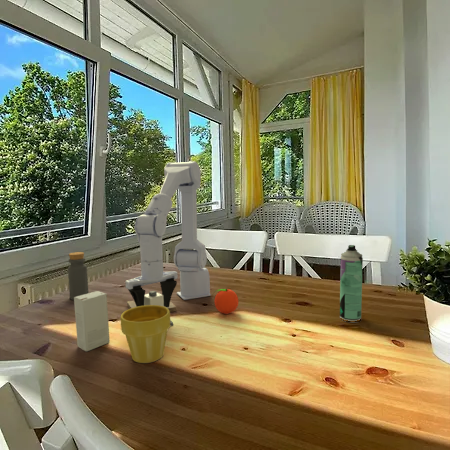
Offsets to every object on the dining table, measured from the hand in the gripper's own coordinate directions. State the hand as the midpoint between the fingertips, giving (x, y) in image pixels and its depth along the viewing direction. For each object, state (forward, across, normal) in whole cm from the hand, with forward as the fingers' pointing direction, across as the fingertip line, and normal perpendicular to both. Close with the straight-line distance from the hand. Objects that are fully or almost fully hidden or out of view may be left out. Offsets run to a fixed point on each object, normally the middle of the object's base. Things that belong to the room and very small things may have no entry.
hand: (153, 309), depth 95 cm
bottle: (+4, +7, -37) cm, 38 cm away
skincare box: (+4, +17, +2) cm, 18 cm away
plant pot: (+4, +11, +16) cm, 19 cm away
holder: (+4, -5, -11) cm, 13 cm away
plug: (+3, 0, 0) cm, 3 cm away
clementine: (+4, -19, +8) cm, 20 cm away
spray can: (+4, -40, +35) cm, 53 cm away
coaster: (+4, 0, 0) cm, 4 cm away
